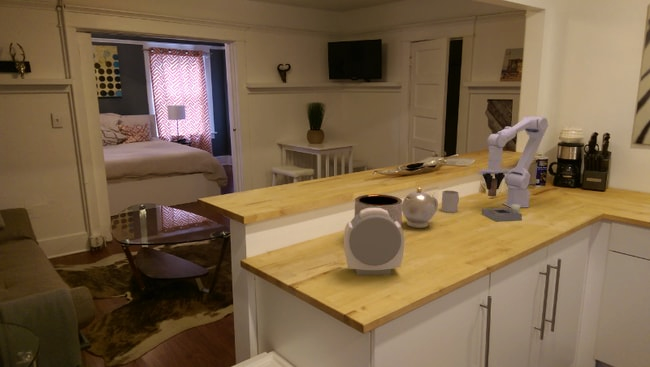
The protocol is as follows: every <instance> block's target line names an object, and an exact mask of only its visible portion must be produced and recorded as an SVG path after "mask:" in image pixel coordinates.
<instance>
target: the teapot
mask: <svg viewBox="0 0 650 367" xmlns="http://www.w3.org/2000/svg"><path fill="white" fill-rule="evenodd" d="M422 190H423V189H422V187H419V186H418V187H417V188H416V191H413V192H410V193H408V195H407V194H406V196H405V198H403V200H402V216H404V218H405V219H406V220H407V221H406V225H407V226H408V227H409V228H414V229H425V228H427V227H429V222H430V221H431V220H432V219H433V217H434V216H435V215H436V213H437V211H438V208H439V202H438V200H437V198H436V197H434V196H431V195H430V194H429V193H427V192H425V191H422Z"/></svg>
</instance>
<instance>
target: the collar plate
mask: <svg viewBox="0 0 650 367" xmlns="http://www.w3.org/2000/svg"><path fill="white" fill-rule="evenodd" d="M481 214H482V216H483V215H484V216H485V217H487V218H489V219H491V220H492V221H494V222H508V221H510V222H511V221H522V220H523V219H522V218H523V214H521V213H518V212H515V211H513V210H511V208H510V207H508V206H507V207H506V206H505V207H503V206H502V207H488V208H487V207H486V208H481Z"/></svg>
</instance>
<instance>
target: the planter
mask: <svg viewBox="0 0 650 367" xmlns="http://www.w3.org/2000/svg"><path fill="white" fill-rule="evenodd" d="M402 203H403V200H402V199H401V198H400V197H398V196H394V195H390V194H389V195H388V194H377V193H376V194H375V193H374V194H373V193H372V194H364V195H359V196H357V197H356V198H354V216H353V218H354V217H355V216H356V215H357V214H359V213H360V211H361V210H364V209H366V208H382V209H384V210H387V212H388V213H389V216H390V217H391V218H392V219H393V221H394V222H396V221H398V223H399V224H400V226H401V228H403V227H402V222H403V221H402V220H403V219H402V218H403V213H402Z"/></svg>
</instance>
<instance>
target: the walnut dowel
mask: <svg viewBox="0 0 650 367" xmlns="http://www.w3.org/2000/svg"><path fill="white" fill-rule="evenodd" d="M497 180H498V179H496V178H495V177H493V178H492V181H491V189H490V190H488V189H487V190H488V192H487V196H488V197H492V198H493V197H496V196H497V190H498V189H497Z"/></svg>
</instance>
